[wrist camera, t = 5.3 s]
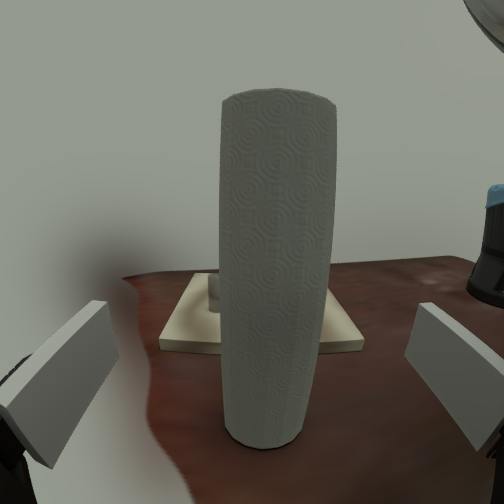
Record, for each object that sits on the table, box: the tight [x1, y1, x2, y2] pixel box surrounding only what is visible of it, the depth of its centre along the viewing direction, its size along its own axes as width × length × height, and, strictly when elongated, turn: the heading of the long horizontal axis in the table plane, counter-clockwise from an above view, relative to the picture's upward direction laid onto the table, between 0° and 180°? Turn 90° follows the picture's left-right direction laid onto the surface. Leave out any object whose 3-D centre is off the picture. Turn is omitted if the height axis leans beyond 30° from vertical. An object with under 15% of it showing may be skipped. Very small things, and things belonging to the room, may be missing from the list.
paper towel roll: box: [219, 88, 337, 449], centre depth 16 cm, size 7×6×21 cm
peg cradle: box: [159, 273, 364, 354], centre depth 37 cm, size 22×22×6 cm
